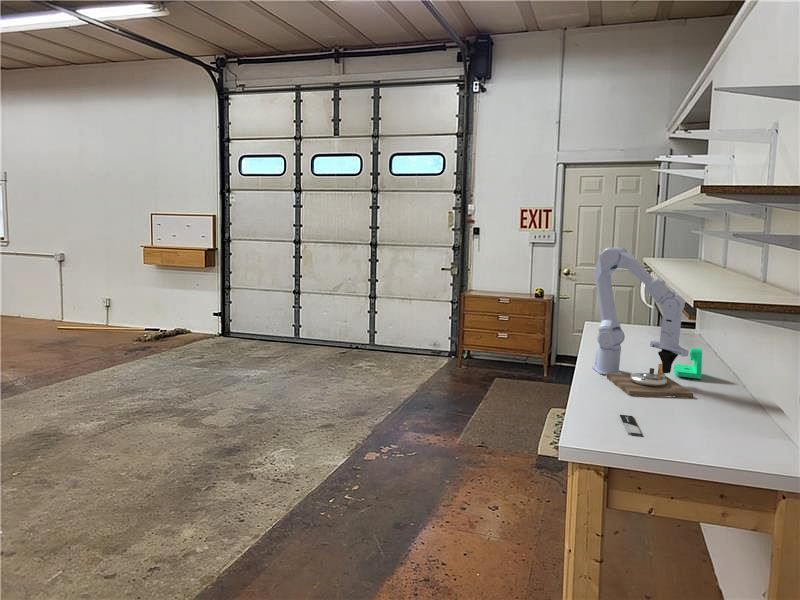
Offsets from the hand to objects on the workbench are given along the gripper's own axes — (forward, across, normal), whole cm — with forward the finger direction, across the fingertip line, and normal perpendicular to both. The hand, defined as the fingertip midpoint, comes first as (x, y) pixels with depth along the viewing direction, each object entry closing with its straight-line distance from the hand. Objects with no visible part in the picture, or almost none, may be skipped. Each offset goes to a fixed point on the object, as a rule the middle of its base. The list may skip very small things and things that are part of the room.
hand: (666, 372), depth 198 cm
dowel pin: (+3, +3, +3) cm, 5 cm away
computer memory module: (+5, -29, +40) cm, 50 cm away
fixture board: (+4, -1, +8) cm, 9 cm away
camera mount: (+4, +7, -17) cm, 19 cm away
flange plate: (+2, -1, +7) cm, 7 cm away
